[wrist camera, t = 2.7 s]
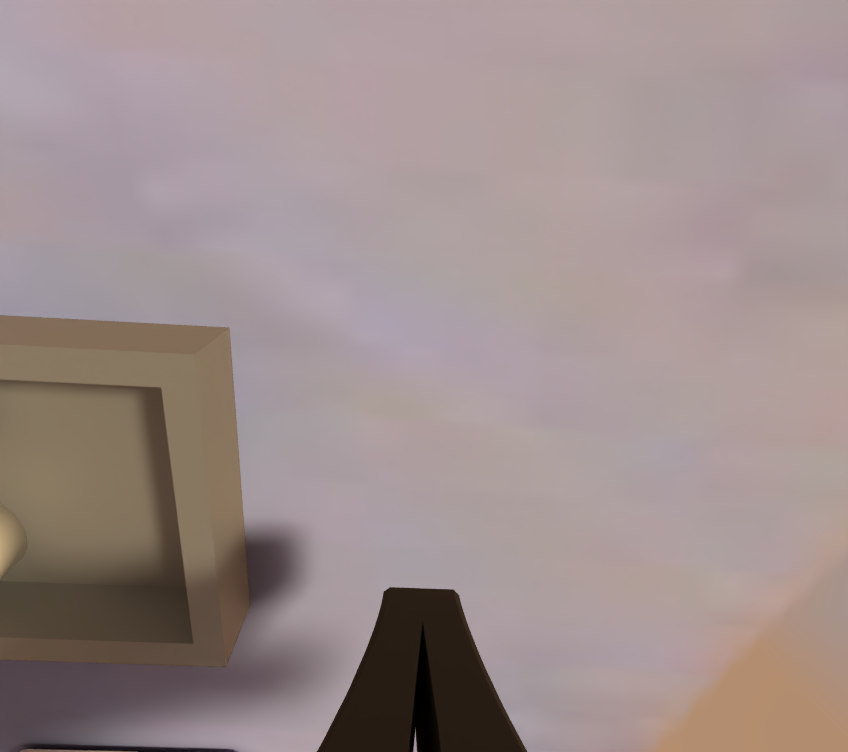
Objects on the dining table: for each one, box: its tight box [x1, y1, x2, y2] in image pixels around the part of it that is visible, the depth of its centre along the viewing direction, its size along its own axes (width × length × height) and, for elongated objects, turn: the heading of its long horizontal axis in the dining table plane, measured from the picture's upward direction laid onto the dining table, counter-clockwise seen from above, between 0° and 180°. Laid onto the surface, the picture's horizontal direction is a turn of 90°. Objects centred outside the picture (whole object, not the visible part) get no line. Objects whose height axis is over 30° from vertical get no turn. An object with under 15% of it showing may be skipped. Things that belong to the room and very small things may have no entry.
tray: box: [0, 315, 250, 667], centre depth 13 cm, size 9×11×3 cm
